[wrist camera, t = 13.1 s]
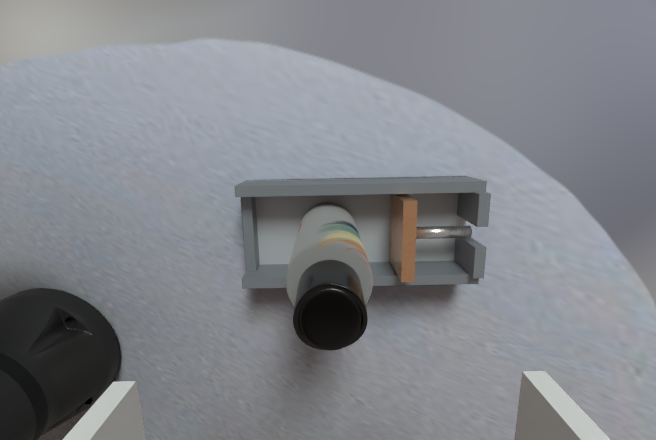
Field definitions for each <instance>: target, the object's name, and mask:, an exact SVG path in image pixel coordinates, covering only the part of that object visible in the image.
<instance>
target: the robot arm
mask: <svg viewBox="0 0 656 440" xmlns="http://www.w3.org/2000/svg"><path fill="white" fill-rule="evenodd" d="M119 360H120V353H119V346H118V342H117V339H116V336H115V334H114V332H113V330H112V328H111V326H110V325H109V323H108V322H107V320H106V319H105V318H104V317H103V316H102V314H101V313H100V312H99V311H98V310H96V309H95V308H94V307H93V306H92V305H90V304H89V303H87V302H86V301H84V300H82V299H81V298H79V297H77V296H75V295H72V294H70V293H67V292H64V291H60V290H55V289H46V288H39V289H30V290H25V291H21V292H19V293H16V294H14V295H12V296H10V297H8V298H6V299H4V300H2V301H0V440H37V439H38V438H39V437H40V436H41V435H43V434H45V433H46V432H48V431H50V430H51V429H53V428H55V427H57V426H58V425H60V424H62V423H63V422H65V421H67V420H68V419H70V418H72V417H74V416H75V415H77V414H78V413H80V412H82V411H84V410H85V409H87V408H88V407H89V406H91V405H92V404H93V403H94V402H95V401H96V400H97V399H98V398H99V397H100V398H99V399H98V400H97V401H96V402H95V403H94V404H93V406H92V407H91V408H90V409H89V410H88V411H87V412H86V413H85V415H84V416H83V417H82V418H81V419H80V420H79V421H78V423H77V424H76V425H75V426H74V427H73V428H72V429H71V431H70V432H69V433H68V434H67V435H66V436H65V437H64V439H63V440H146V439H145V433H144V427H143V421H142V415H141V408H140V402H139V396H138V390H137V384H136V381H121V382H113V380H114V378H115V376H116V374H117V371H118V367H119ZM112 382H113V383H112ZM111 383H112V384H111ZM106 389H107V390H106ZM105 390H106V391H105ZM515 440H610V439H609V438H608V437H607V435H606V434H605V433H604V432H603V431H602V430H601V429H600V428H599V427H598V426H597V425H596V424H595V423H594V422H593V421H592V420H591V419H590V418H589V417H588V416H587V415H586V414H585V412H584V411H583V410H582V409H581V408H580V407H579V406H578V405H577V404H576V403H575V402H574V401H573V400H572V399H571V398H570V397H569V396H568V395H567V394H566V393H565V392H564V390H563V389H562V388H561V387H560V386H559V385H558V384H557V383H556V382H555V381H554V380H553V379H552V378H551V377H550V376H549V375H548V374H547V373H546V372H545V371H522V379H521V388H520V397H519V405H518V414H517V423H516V432H515Z"/></svg>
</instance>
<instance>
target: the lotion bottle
mask: <svg viewBox="0 0 656 440" xmlns="http://www.w3.org/2000/svg"><path fill="white" fill-rule="evenodd" d="M372 288H373V275H372V271H371V267H370V264H369V261H368V258H367V255H366V253H365V250H364V247H363V244H362V241H361V239H360V236H359V233H358V230H357V228H356V225H355V222H354V220H353V218H352V216H351V214H350V213H349V212H348V211H347V210H346V209H345V208H344V207H343V206H341V205H339V204H336V203H332V202H323V203H319V204H317V205H315V206H313V207H312V208H310V209H309V210H308V211H307V212H306V214H305V215H304V217H303V219H302V222H301V225H300V228H299V231H298V235H297V238H296V241H295V245H294V248H293V251H292V255H291V258H290V261H289V265H288V269H287V273H286V290H287V294H288V297H289V299H290V301H291V303H292V305H293V306H294V307H295V308H294V315H293V324H294V328H295V331H296V333H297V335H298V337H299V338H300V339H301V340H302V341H303V342H304V343H305V344H307V345H309V346H311V347H313V348H316V349H321V350H338V349H341V348H344V347H346V346H349V345H351V344H353V343H354V342H356V341H357V340H358V339H359V338H360V337H361V336H362V335H363V333H364V331H365V329H366V326H367V310H366V304H367V302H368V300H369V298H370V296H371V293H372Z"/></svg>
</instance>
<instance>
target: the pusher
mask: <svg viewBox="0 0 656 440" xmlns="http://www.w3.org/2000/svg"><path fill="white" fill-rule="evenodd" d="M417 202H418V201H417V200H415V199H414V198H412V197H411V196H409V195H407V194H391V210H390V259H389V260H390V262H391V264H392V266H393V268H394V270H395V272H396V273H397V275H398V277H399V279H400V281H401V282H415V256H416V239H443V238H470V237H471V235H472V230H471V227H470V226H425V227H417Z"/></svg>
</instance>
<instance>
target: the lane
mask: <svg viewBox="0 0 656 440" xmlns="http://www.w3.org/2000/svg"><path fill="white" fill-rule="evenodd" d="M486 183H487V181H483V180H479V179H475V178H471V177H467V176H440V177H389V178H338V179H287V180H246V181H244V182H242V183H240V184H238V185H236V186H235V197H241V207H242V220H243V234H244V247H245V261H246V273H245V274H244V276H243V278H242V289H248V288H286V273H287V269H288V265H289V261H290V258H291V255H292V251H293V248H294V245H295V241H296V238H297V235H298V231H299V228H300V225H301V222H302V219H303V217H304V215H305V214H306V212H307V211H308V210H309V209H310V208H312V207H313V206H315V205H317V204H319V203H323V202H332V203H336V204H339V205H341V206H343V207H344V208H345V209H346V210H347V211H348V212H349V213H350V214H351V216H352V218H353V220H354V222H355V225H356V228H357V230H358V233H359V236H360V239H361V241H362V244H363V247H364V250H365V253H366V255H367V258H368V261H369V264H370V267H371V271H372V275H373V286H397V285H446V284H478V283H479V278H484V269H485V257H486V247H485V246H483V245H482V244H480V243H479V242H477V241H476V240H474V239H473V238H471V237H470V238H443V239H416V256H415V282H401V281H400V279H399V277H398V275H397V273H396V272H395V270H394V268H393V266H392V264H391V262H390V260H389V259H390V210H391V194H407V195H409V196H411V197H412V198H414V199H415V200H417V201H418V202H417V227H425V226H466V221H468V222H470V223H471V224H473V225H475V226H477V227H488V221H489V209H490V197H491V194H490V193H487V192H486Z"/></svg>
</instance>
